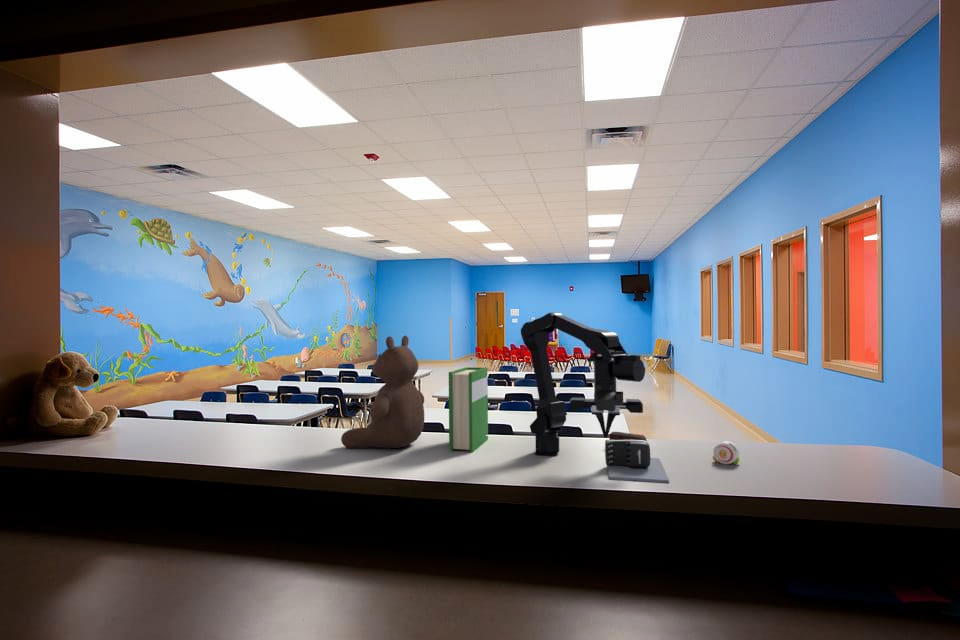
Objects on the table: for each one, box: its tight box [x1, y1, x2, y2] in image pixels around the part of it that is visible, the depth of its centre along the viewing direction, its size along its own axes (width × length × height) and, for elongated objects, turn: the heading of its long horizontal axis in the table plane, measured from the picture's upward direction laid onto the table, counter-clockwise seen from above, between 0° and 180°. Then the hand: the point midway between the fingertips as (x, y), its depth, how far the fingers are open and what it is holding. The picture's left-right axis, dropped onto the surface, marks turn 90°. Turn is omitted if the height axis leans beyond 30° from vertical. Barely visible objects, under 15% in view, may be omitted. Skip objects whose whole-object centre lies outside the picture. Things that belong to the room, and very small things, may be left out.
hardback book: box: [448, 366, 489, 454], centre depth 159 cm, size 18×7×24 cm, turn 164°
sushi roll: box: [712, 440, 740, 465], centre depth 136 cm, size 4×6×6 cm
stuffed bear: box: [340, 335, 425, 449], centre depth 160 cm, size 29×23×35 cm
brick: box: [608, 431, 648, 442], centre depth 153 cm, size 11×4×5 cm, turn 60°
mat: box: [607, 457, 670, 483], centre depth 131 cm, size 14×20×1 cm
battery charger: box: [604, 439, 651, 468], centre depth 131 cm, size 7×4×11 cm
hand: (605, 437), depth 133 cm, fingers closed
